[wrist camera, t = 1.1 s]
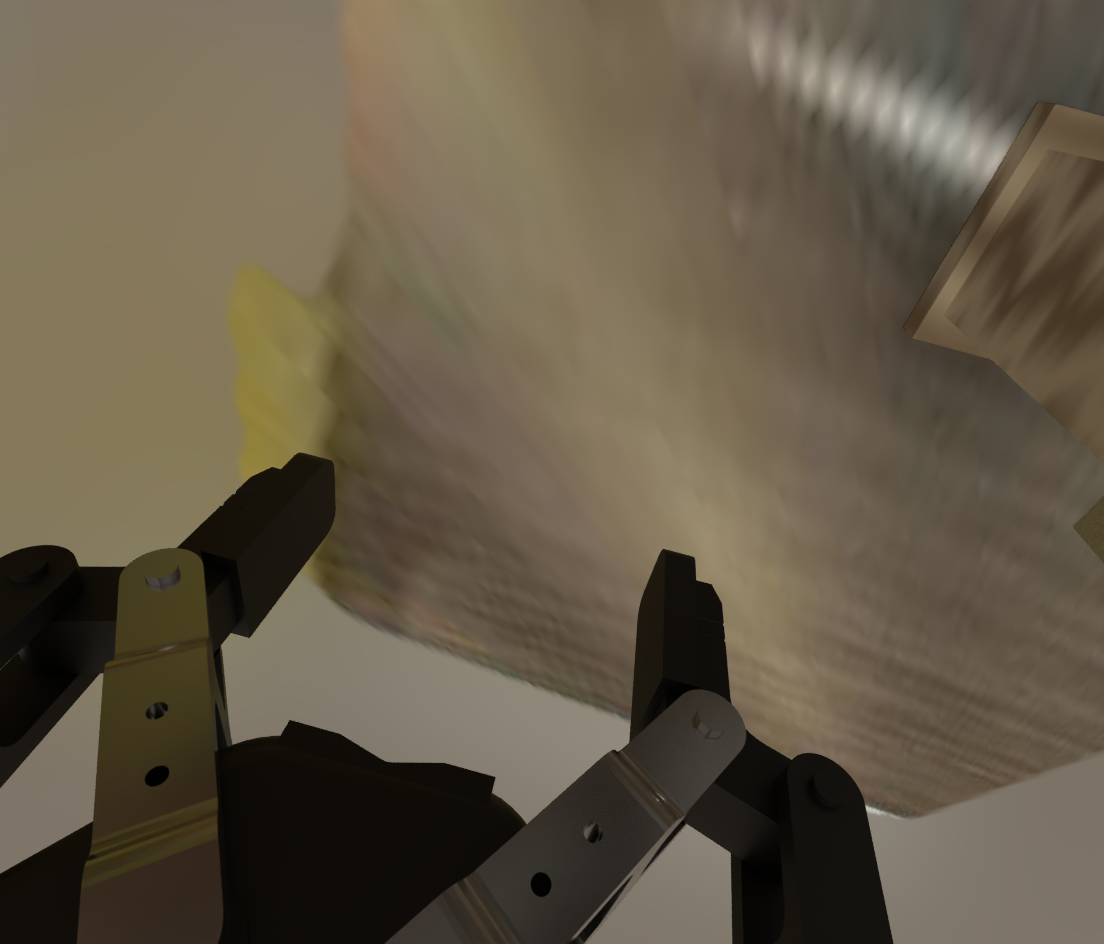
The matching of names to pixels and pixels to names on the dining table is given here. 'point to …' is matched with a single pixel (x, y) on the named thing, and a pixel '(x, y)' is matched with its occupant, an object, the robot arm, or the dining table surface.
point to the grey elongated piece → (1093, 528)
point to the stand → (1034, 272)
